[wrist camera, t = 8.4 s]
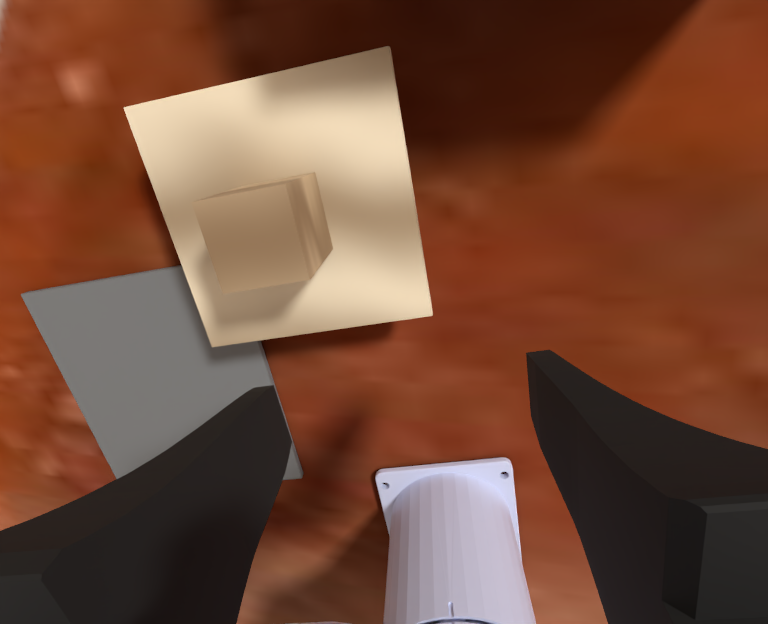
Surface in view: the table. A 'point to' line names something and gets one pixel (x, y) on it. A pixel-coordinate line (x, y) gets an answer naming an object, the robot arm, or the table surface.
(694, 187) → the table surface
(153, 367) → the mat
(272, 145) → the lid
